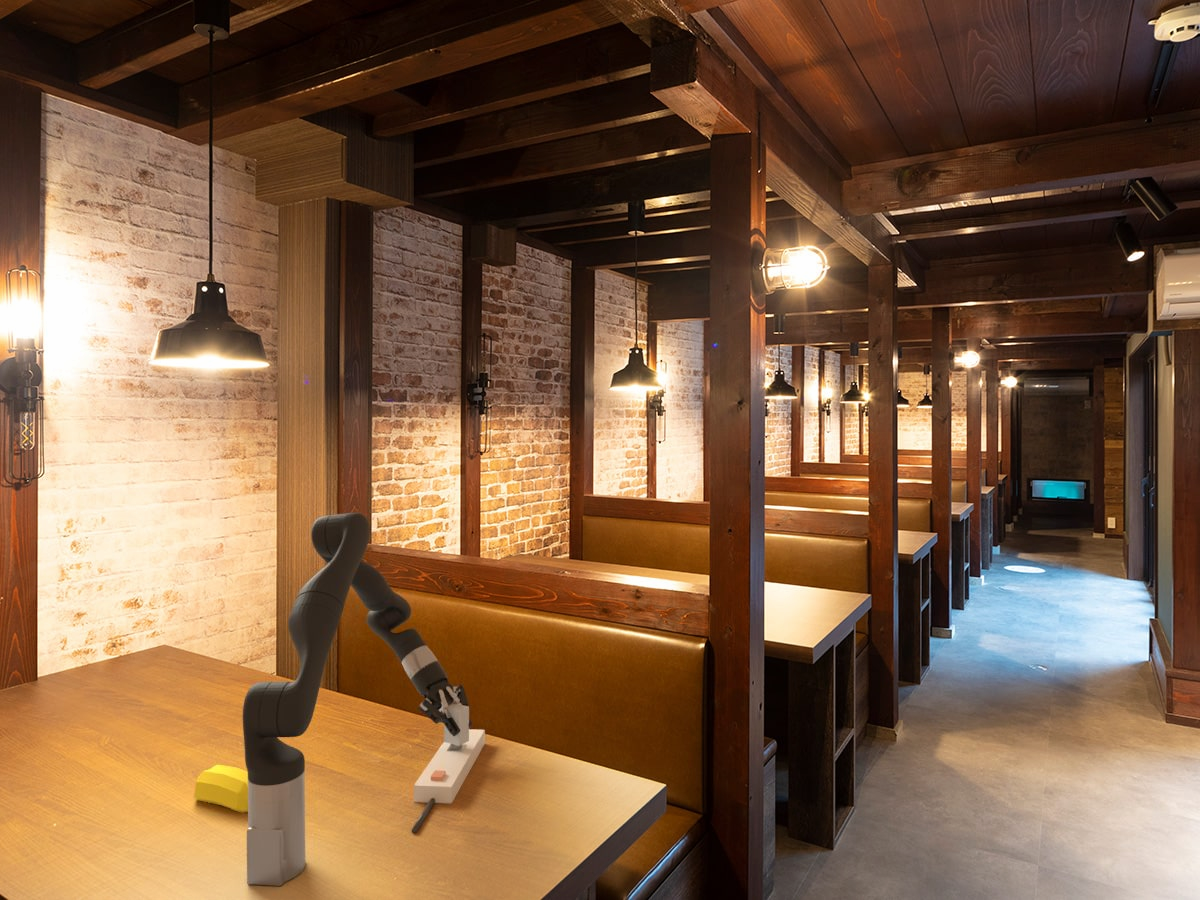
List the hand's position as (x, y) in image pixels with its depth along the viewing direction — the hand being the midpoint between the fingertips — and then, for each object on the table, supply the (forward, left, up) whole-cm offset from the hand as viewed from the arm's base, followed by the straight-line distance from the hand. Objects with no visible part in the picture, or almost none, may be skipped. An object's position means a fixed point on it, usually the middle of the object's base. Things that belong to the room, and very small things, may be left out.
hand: (463, 730), depth 176 cm
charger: (+1, +2, -5) cm, 5 cm away
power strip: (-9, +2, -8) cm, 12 cm away
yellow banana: (-21, +44, -9) cm, 49 cm away
